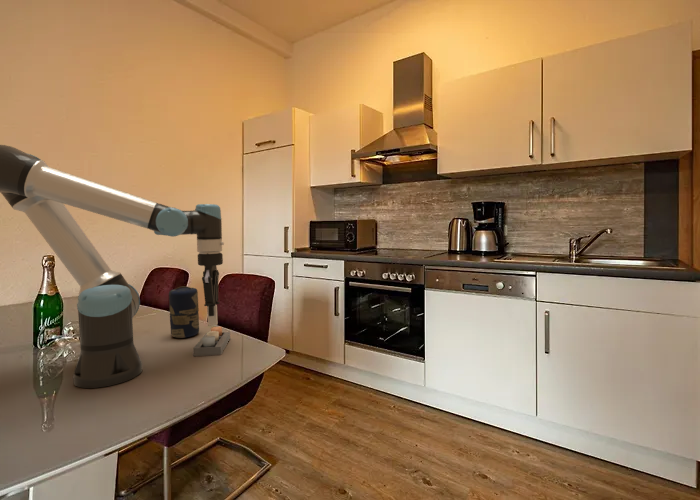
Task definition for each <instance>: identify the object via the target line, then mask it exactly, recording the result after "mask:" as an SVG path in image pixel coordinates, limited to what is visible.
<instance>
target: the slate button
mask: <svg viewBox="0 0 700 500" xmlns="http://www.w3.org/2000/svg"><path fill="white" fill-rule="evenodd" d="M202 337H203V336H202ZM213 346H215V336H206V337H203V347H213Z"/></svg>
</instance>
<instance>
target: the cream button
mask: <svg viewBox="0 0 700 500" xmlns="http://www.w3.org/2000/svg"><path fill="white" fill-rule="evenodd" d="M206 333H207V336H215V341H218V340H219V332H218V331H211V330H210V331H208V332H206Z"/></svg>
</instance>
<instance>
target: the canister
mask: <svg viewBox="0 0 700 500" xmlns="http://www.w3.org/2000/svg"><path fill="white" fill-rule="evenodd" d="M168 299H169V300H168V301H169V302H168V303H169V324H170V336H172V337H174V338H177V339H181V338H182V339H183V338H190V337H194V336H196V335H197V334H199V332H200V320H199V318H200V317H199V311H200V309H199V291H198V289H197V288H194V287H189V286H186V285H185V286H184V285H183V286H178V287H176V288H174V289H170V290H169V292H168Z"/></svg>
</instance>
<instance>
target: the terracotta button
mask: <svg viewBox="0 0 700 500" xmlns="http://www.w3.org/2000/svg"><path fill="white" fill-rule="evenodd" d="M211 331H218V332H219V336H221V335H222V332H223V326H212V327H211V328H210V332H211Z"/></svg>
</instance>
